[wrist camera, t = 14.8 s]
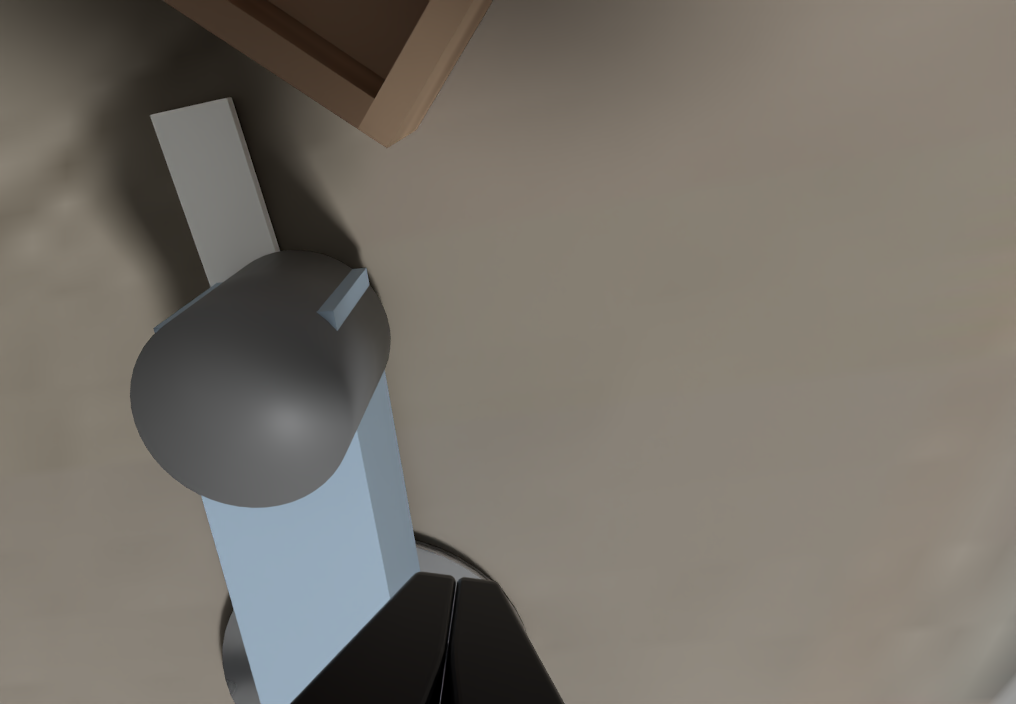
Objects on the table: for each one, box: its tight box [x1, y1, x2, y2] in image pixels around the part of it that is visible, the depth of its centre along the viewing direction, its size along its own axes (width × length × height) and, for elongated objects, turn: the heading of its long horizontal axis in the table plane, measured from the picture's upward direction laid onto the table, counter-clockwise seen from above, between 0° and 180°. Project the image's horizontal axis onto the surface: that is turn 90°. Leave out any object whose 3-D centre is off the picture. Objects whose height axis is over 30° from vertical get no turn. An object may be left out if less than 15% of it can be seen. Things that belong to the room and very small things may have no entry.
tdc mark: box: [150, 97, 280, 287], centre depth 12 cm, size 3×1×1 cm, turn 12°
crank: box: [130, 250, 448, 704], centre depth 13 cm, size 13×3×3 cm, turn 6°
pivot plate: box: [223, 541, 527, 704], centre depth 15 cm, size 6×6×1 cm
